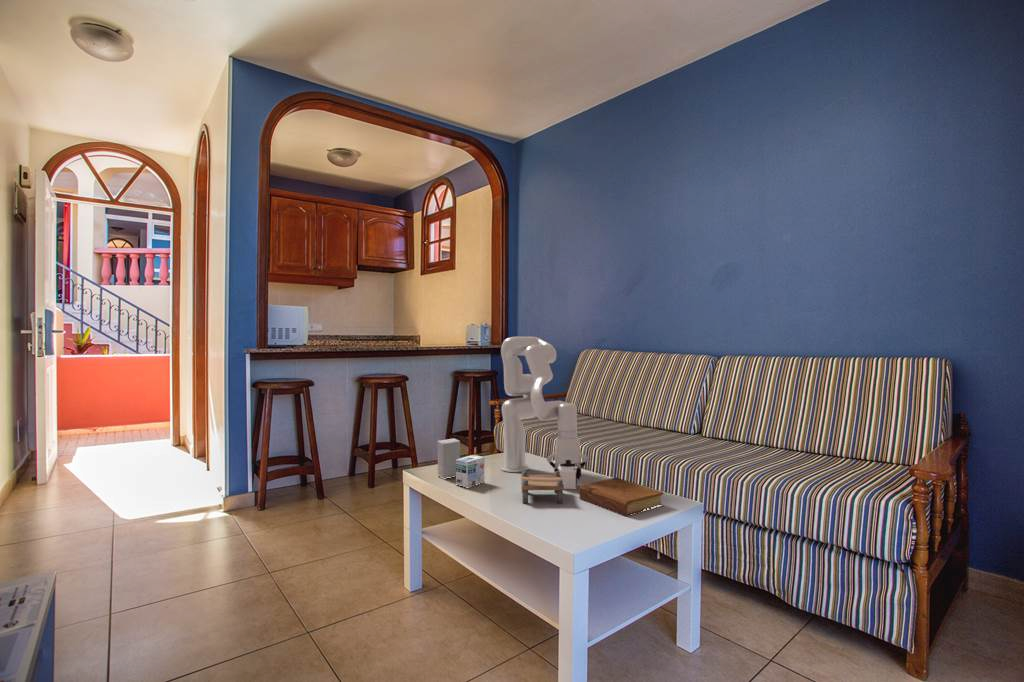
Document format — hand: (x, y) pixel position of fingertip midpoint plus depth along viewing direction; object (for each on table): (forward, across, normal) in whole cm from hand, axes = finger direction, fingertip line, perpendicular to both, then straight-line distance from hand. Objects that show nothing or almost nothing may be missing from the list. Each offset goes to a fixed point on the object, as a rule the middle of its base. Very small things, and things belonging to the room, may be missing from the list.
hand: (567, 478), depth 209 cm
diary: (+4, +17, -20) cm, 26 cm away
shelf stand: (+3, -11, -14) cm, 18 cm away
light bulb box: (+4, -39, +4) cm, 39 cm away
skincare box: (+4, -49, +15) cm, 51 cm away
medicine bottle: (+4, 0, 0) cm, 4 cm away
